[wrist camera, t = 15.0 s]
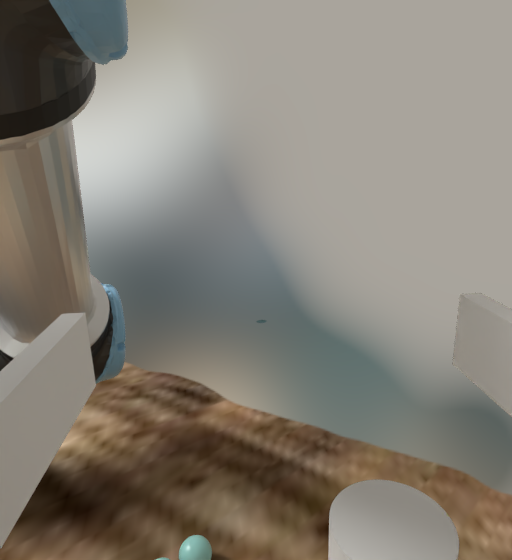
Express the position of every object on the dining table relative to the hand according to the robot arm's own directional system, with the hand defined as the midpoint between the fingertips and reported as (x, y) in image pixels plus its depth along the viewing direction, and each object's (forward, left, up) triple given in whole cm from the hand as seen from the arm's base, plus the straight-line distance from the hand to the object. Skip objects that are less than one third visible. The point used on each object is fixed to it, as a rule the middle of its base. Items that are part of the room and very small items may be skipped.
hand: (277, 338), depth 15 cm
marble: (-18, +3, -30) cm, 35 cm away
